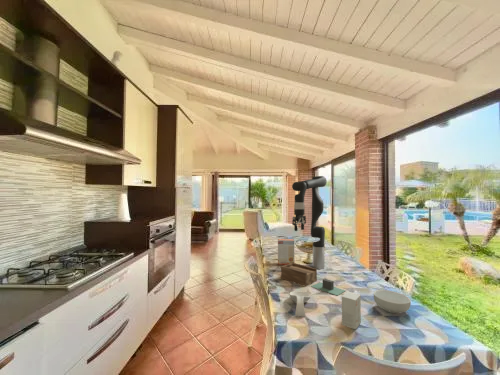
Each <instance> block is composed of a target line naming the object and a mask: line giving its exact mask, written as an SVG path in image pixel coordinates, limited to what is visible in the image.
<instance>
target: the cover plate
mask: <svg viewBox="0 0 500 375" xmlns="http://www.w3.org/2000/svg"><path fill="white" fill-rule="evenodd" d="M334 283H335V282H334V280H331V279H328V278H323V279H322V282H317V283H315V284H313V285H311V286H310V287H311V288H314V289H317V290H320V291H322V292H324V293H328V294H329V295H330V294H331V295H334V296H336V297H337V296H340V295H341V294H342V295H343V293H346V292H347V290H345V289H342V288H339V287H337V286H335V285H334Z"/></svg>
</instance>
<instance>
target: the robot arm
mask: <svg viewBox="0 0 500 375" xmlns="http://www.w3.org/2000/svg"><path fill="white" fill-rule="evenodd" d="M327 184H328V183H327V178H326V177H325V176H323V175H318V176H317V175H316V176H313V177H312V178H311V179H305V180H299V181H295V182H292V185H291V186H292V190H293V191H295V192H299V193H297V194H294V205H293V206H294V207H293V208H294V209H293V214H294V215H295V216H292V222H291V224H292V226H294V228H293V229H294V232H297V231H298V225H299V224H300V230H301V231H304V230H305V224H306V223H307V218H306V215H305V214H306V213H305V196H306V195H305V194H306V191H307V190H310V189H311V191H312V195H311V197H312V198H311V200H312V201H311V225H310V226H311V227H310V236H311V238H314V239H318V240H317V241H313V242H312V268H316V269H317V270H323V269H325V266H326V264H325V261H326V260H325V258H326V257H325V238H326V229H325V227H323V226H317V222H318V220H319V219H320V217H321V215H323V213H324V201H323V199H322V198H321V196H320V193H319V188H323V187H325V186H327Z"/></svg>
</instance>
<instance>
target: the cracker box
mask: <svg viewBox="0 0 500 375" xmlns="http://www.w3.org/2000/svg"><path fill="white" fill-rule="evenodd" d="M290 263H295V239H289V238H281V239H280V238H278V239H277V265H281V266H284V265H287V264H290Z"/></svg>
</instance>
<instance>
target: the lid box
mask: <svg viewBox="0 0 500 375" xmlns="http://www.w3.org/2000/svg"><path fill="white" fill-rule="evenodd" d="M280 268H281V269H280V279H282V280H285V281H287V282H291V283H294V284H297V285H299V286H303V287H308V286H310V285H311V284H313V283H316V282H318V281H317V280H318V276H317V275H318V274H317V273H318V272H317V271H318V269H316V268H313V266H312V267H311V266H307V265H304V264H300V263H296V262H294V263H290V264H287V265H281V266H280Z"/></svg>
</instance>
